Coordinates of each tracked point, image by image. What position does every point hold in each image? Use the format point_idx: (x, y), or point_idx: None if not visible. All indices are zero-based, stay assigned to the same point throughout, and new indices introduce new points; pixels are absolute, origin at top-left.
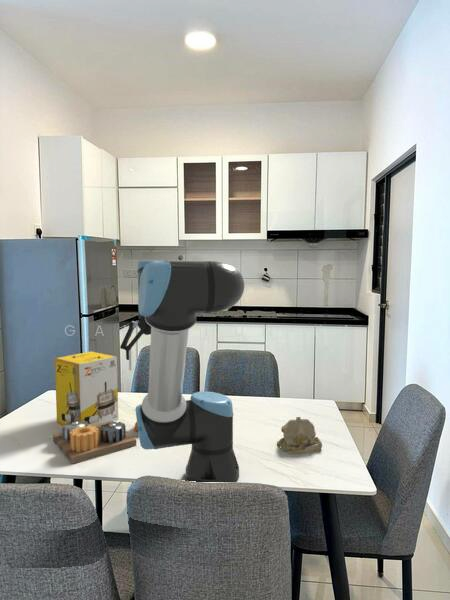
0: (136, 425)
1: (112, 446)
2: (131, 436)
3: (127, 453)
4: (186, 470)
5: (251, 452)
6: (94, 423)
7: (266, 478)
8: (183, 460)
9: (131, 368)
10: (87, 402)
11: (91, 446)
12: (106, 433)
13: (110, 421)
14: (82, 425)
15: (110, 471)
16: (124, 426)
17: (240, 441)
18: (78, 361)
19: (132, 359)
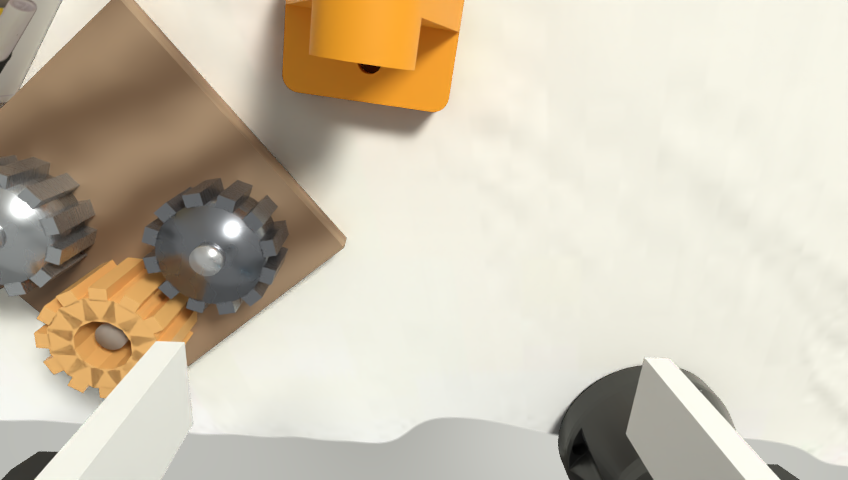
0: (296, 91)
1: (262, 309)
2: (311, 218)
3: (331, 306)
4: (568, 473)
5: (801, 291)
6: (27, 32)
7: (789, 440)
8: (549, 350)
9: (184, 434)
10: None
11: None
12: (208, 303)
13: (114, 11)
14: (39, 246)
15: (315, 420)
16: (272, 255)
17: (789, 198)
18: None
19: (127, 476)
